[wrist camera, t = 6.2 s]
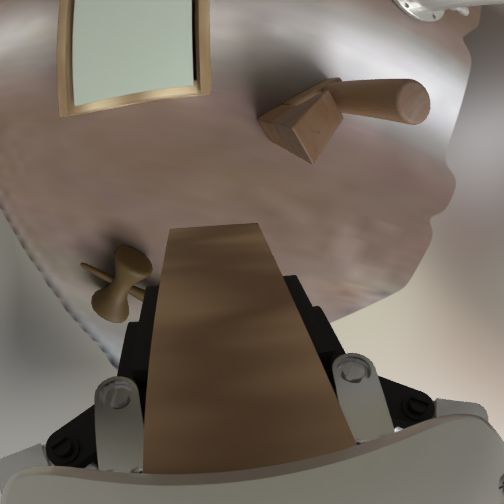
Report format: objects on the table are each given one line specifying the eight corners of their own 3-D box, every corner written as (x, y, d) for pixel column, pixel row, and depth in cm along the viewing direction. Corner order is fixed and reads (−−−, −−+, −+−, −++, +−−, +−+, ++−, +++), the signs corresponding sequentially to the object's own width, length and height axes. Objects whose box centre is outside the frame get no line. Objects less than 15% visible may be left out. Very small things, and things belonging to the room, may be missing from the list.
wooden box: (206, -55, 20) (210, -93, 12) (208, 95, 30) (211, 90, 22) (96, -36, 18) (72, -66, 10) (93, 112, 29) (59, 117, 20)
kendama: (188, 330, 47) (76, 277, 38) (220, 288, 44) (98, 225, 36) (190, 357, 42) (64, 301, 33) (226, 314, 39) (86, 245, 30)
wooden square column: (266, 214, 14) (409, 489, 3) (263, 299, 16) (339, 528, 5) (160, 221, 13) (113, 534, 2) (173, 306, 15) (176, 550, 5)
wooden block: (255, 118, 33) (308, 132, 17) (327, 78, 31) (422, 71, 16) (271, 143, 34) (333, 179, 19) (341, 102, 33) (438, 114, 17)
